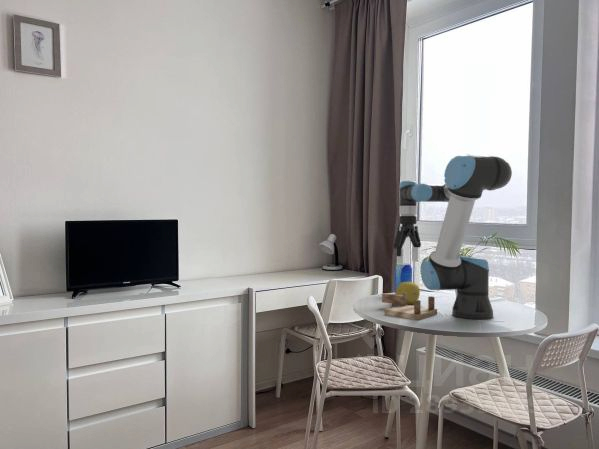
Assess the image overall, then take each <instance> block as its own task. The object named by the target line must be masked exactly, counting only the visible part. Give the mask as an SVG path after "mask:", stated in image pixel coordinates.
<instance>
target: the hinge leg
mask: <svg viewBox="0 0 599 449" xmlns="http://www.w3.org/2000/svg"><path fill="white" fill-rule="evenodd" d="M381 303H385V304H386V303H387V304H391V305H392V304H399V305H407V304H406V293H403V295H396V294H395V293H386V292H385V293H381Z"/></svg>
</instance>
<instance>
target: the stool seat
mask: <svg viewBox="0 0 599 449" xmlns="http://www.w3.org/2000/svg"><path fill="white" fill-rule="evenodd" d="M427 298H428V300H427V303H428V304H427V307H425V306H424V307H423V306H422V305H421V300H419V299H418V300H414V303H413V305H412V304H406V305H400V306H396V307H392V306H391V307H389V308H385V309H384V315H385V316H393V317H397V318H404V319H410V320H411V319H412V320H416V321H421V320H424V319H426V318H429V317H433V316H436V315H437V314H438V308H435V298H436V297H435V296H434V295H433V296H432V295H431V296H429V295H428V297H427Z"/></svg>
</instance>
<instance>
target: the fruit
mask: <svg viewBox="0 0 599 449" xmlns="http://www.w3.org/2000/svg"><path fill="white" fill-rule="evenodd" d="M420 291H421V290H420V287H419V285H418V284H417V283H415V282H413V281H412V282H402V283H400V284H399V285H398V287H397V289H396V295H403V293H406V305H414V300H419V298H420Z"/></svg>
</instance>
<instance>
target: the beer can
mask: <svg viewBox="0 0 599 449" xmlns="http://www.w3.org/2000/svg"><path fill="white" fill-rule="evenodd" d="M402 282H412V283H413V267H412V266H411V264H410V263H407V262H406V263H405V262H403V264H398V263H397V262H396V265H395V266H394V294H396V289H397V287H398V285H399V284H400V283H402Z"/></svg>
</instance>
